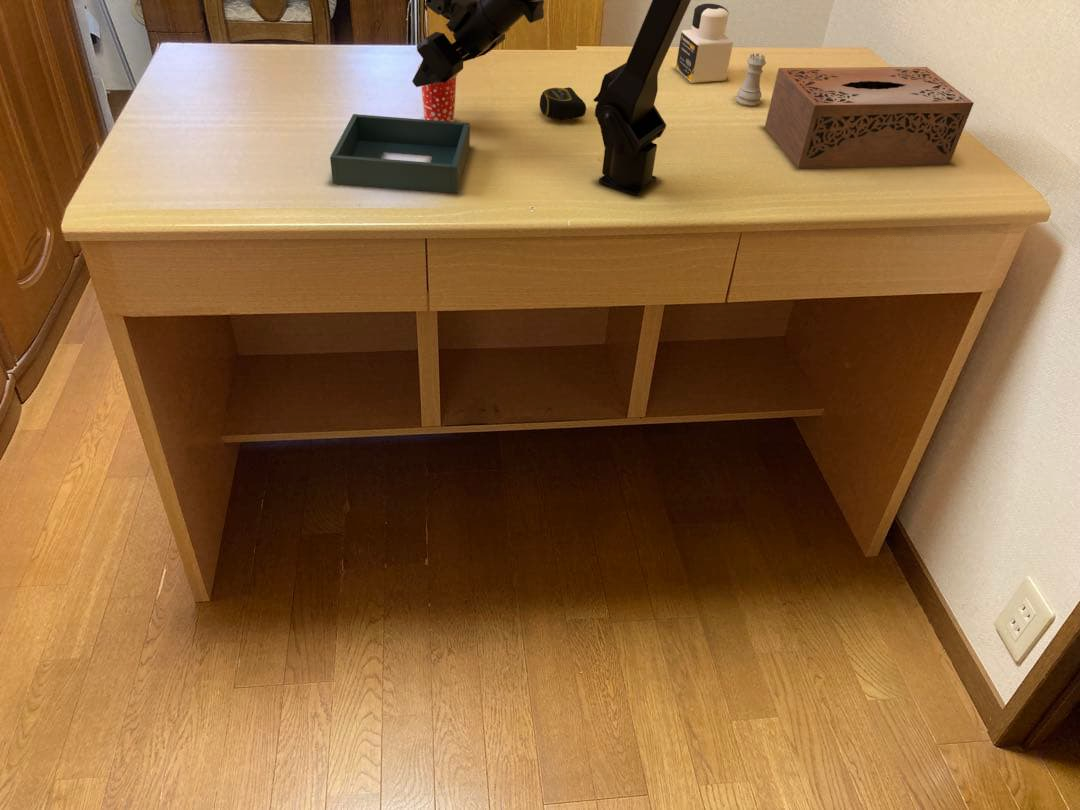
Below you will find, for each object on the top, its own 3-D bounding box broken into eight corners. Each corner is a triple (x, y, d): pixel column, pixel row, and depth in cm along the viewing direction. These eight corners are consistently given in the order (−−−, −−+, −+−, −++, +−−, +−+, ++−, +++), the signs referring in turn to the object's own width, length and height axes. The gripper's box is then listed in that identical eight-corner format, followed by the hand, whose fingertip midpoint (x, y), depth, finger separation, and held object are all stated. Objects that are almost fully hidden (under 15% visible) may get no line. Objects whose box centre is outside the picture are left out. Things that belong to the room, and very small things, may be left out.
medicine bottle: (675, 68, 162) (685, 1, 154) (709, 66, 164) (721, -1, 156) (690, 83, 157) (702, 14, 149) (726, 81, 159) (739, 12, 151)
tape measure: (586, 123, 142) (588, 100, 139) (546, 126, 140) (548, 103, 137) (572, 106, 146) (574, 84, 144) (533, 109, 145) (535, 87, 142)
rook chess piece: (765, 105, 151) (776, 59, 146) (743, 108, 150) (753, 61, 144) (751, 95, 154) (761, 50, 149) (730, 98, 153) (739, 52, 147)
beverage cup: (420, 115, 140) (417, 26, 131) (458, 116, 141) (457, 27, 132) (419, 131, 136) (415, 40, 126) (458, 132, 136) (457, 41, 127)
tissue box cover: (797, 168, 133) (814, 105, 127) (764, 128, 144) (778, 68, 137) (949, 164, 137) (973, 102, 131) (906, 125, 148) (926, 66, 141)
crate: (469, 147, 133) (469, 122, 130) (457, 193, 122) (457, 167, 119) (355, 139, 133) (353, 113, 130) (332, 183, 122) (329, 157, 119)
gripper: (488, -53, 128) (425, 12, 138) (427, -22, 115) (362, 47, 125) (534, 12, 131) (469, 71, 141) (479, 50, 118) (412, 112, 128)
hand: (429, 74), depth 134 cm, fingers open, 9 cm apart
